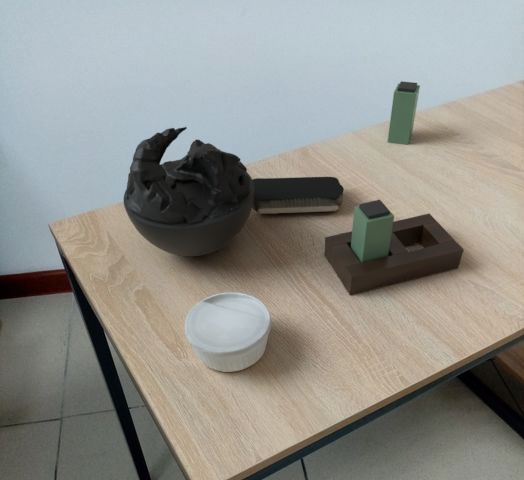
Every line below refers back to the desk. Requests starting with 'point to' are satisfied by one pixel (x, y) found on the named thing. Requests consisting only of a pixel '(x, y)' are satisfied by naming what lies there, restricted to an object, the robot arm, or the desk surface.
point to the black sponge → (297, 194)
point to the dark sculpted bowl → (187, 196)
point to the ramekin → (228, 330)
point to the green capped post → (403, 112)
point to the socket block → (395, 255)
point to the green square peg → (371, 231)
